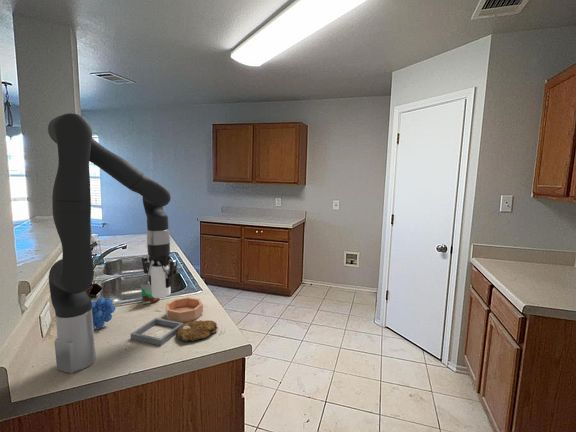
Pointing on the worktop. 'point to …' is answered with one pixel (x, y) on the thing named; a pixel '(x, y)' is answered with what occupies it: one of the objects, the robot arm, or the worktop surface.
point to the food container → (148, 294)
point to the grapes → (102, 312)
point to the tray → (153, 340)
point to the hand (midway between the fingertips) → (160, 285)
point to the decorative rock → (196, 330)
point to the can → (159, 282)
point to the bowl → (184, 309)
